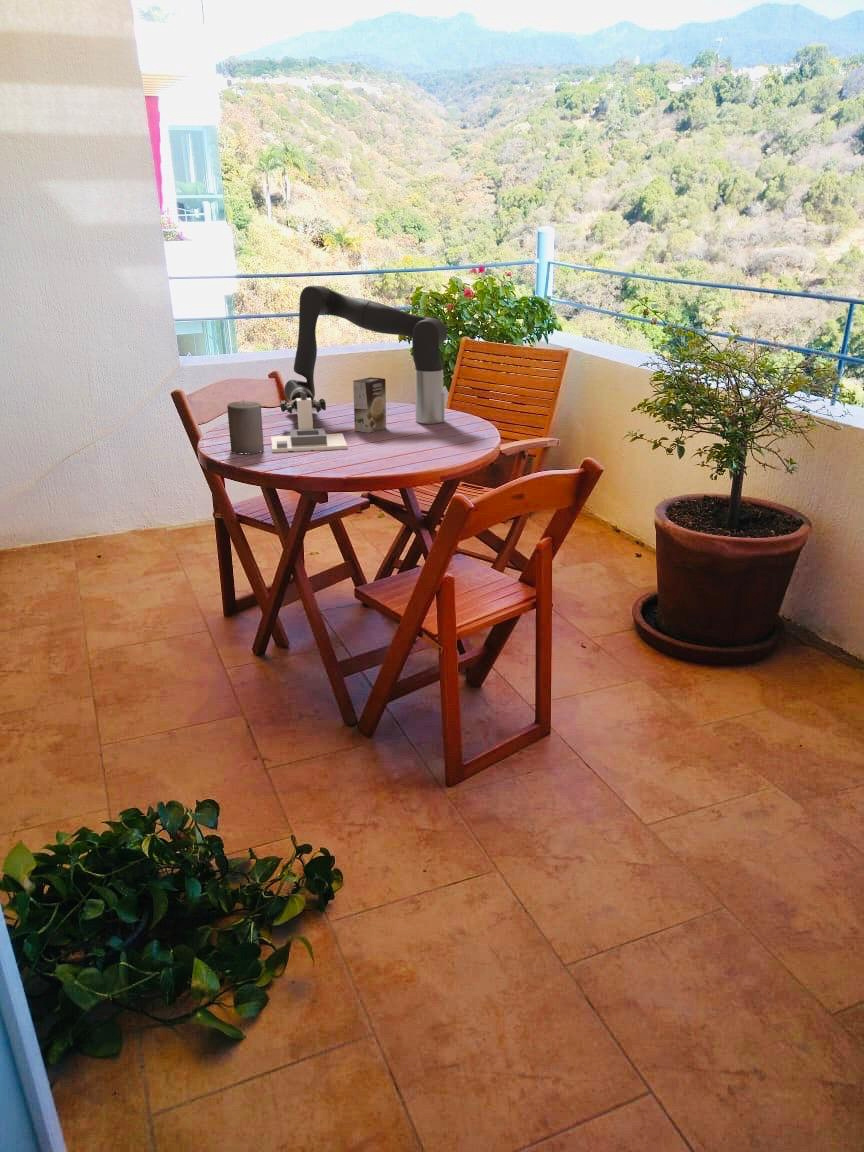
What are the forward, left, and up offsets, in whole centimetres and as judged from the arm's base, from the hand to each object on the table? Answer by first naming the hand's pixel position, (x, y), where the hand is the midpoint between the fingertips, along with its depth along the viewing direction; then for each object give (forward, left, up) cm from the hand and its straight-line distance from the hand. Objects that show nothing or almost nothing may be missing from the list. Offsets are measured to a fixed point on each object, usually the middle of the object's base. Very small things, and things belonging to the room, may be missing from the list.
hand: (304, 409), depth 263 cm
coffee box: (-21, -1, -8) cm, 22 cm away
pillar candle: (+18, +19, -8) cm, 27 cm away
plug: (0, +1, -8) cm, 8 cm away
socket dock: (0, +15, -8) cm, 17 cm away
